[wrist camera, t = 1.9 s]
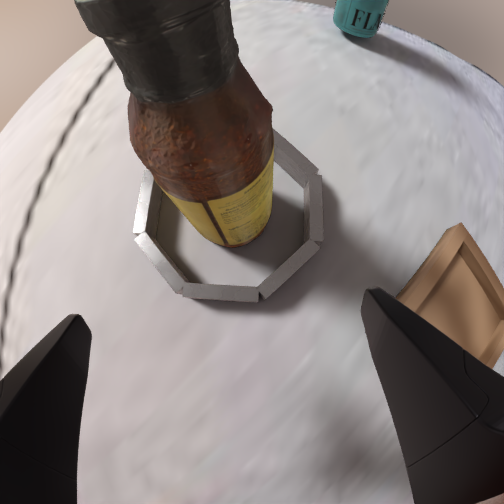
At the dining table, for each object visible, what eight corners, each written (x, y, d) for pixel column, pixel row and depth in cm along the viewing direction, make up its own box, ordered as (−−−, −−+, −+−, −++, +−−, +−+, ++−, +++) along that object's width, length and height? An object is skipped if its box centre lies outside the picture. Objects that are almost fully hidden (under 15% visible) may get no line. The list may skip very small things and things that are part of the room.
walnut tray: (437, 418, 19) (451, 425, 16) (365, 332, 21) (377, 334, 18) (503, 319, 20) (519, 318, 18) (446, 229, 22) (461, 222, 20)
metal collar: (221, 338, 21) (217, 341, 18) (120, 210, 23) (107, 201, 21) (349, 219, 23) (359, 209, 20) (238, 116, 25) (237, 99, 22)
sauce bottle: (272, 180, 23) (299, -68, 4) (268, 253, 22) (322, -7, 3) (195, 177, 24) (106, -45, 4) (185, 248, 22) (-1, 57, 3)
